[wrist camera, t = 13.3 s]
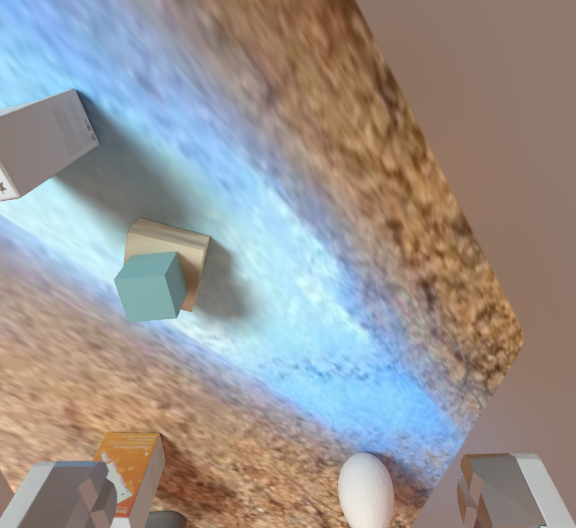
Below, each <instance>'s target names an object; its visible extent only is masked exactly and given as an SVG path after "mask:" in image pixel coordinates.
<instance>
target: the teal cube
mask: <svg viewBox="0 0 576 528" xmlns="http://www.w3.org/2000/svg"><path fill="white" fill-rule="evenodd" d="M114 281H115V284H116V287H117V290H118V293H119V296H120V299H121V302H122V304H123V307H124V310H125V313H126V316H127V319H128V322H137V321H149V320H161V319H173V318H177V317H178V314H179V312H180V309H181V307H182V305H183V302H184V300H185V297H186V295H187V293H188V290H187V286H186V283H185V279H184V275H183V271H182V267H181V264H180V260H179V256H178V252H177V251H174V252H164V253H153V254H143V255H132V256H131V257H130V258H129V259H128V261H127V262H126V264H125V265H124V266H123V268H122V269H121V271H120V272H119V273H118V275H117V276H116V278H115V279H114Z"/></svg>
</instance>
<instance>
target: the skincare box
mask: <svg viewBox="0 0 576 528" xmlns="http://www.w3.org/2000/svg"><path fill="white" fill-rule="evenodd" d="M97 146H99V141H98V139H97V137H96V134H95V132H94V130H93V128H92V126H91V123H90V121H89V119H88V117H87V114H86V112H85V109H84V107H83V105H82V103H81V100H80V98H79V96H78V93H77V91H76V90H75V89H74V88H73V89H69V90H66V91H64V92H61V93H58V94H55V95H52V96H49V97H46V98H43V99H39V100H36V101H32V102H28V103H24V104H20V105H15V106H10V107H5V108H2V109H0V201H6V200H12V199H18V198H21V197H22V196H24V195H25V194H27V193H28V192H30V191H31V190H33V189H34V188H36V187H37V186H39V185H40V184H42V183H43V182H45V181H46V180H48V179H49V178H51V177H52V176H54V175H55V174H57V173H58V172H60V171H61V170H63V169H64V168H66V167H67V166H69V165H70V164H72V163H73V162H75V161H76V160H78V159H79V158H81V157H82V156H84V155H85V154H87V153H88V152H90V151H91V150H93V149H94V148H96V147H97Z"/></svg>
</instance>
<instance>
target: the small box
mask: <svg viewBox="0 0 576 528" xmlns="http://www.w3.org/2000/svg"><path fill="white" fill-rule="evenodd" d="M92 461H100V462H105V463H106V465H107V467H108V470H109V472H108V475H107V477H106V478H107V479H108V480H110V481H111V482H112V483H114V485H115V488H116V491H117V506H116V513H115V516H114V519H113V522H112V525H111V527H110V528H145V524H146V521H147V518H148V515H149V512H150V509H151V506H152V503H153V500H154V497H155V494H156V491H157V488H158V485H159V482H160V478H161V475H162V472H163V469H164V466H165V463H166V459H165V455H164V450H163V446H162V441H161V437H160V433H116V432H107V433H106V434H105V436H104V438H103V440H102V443H101V445H100V446H99V449H98V451H97V452H96V454H95V456H94V458H93V460H92Z"/></svg>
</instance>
